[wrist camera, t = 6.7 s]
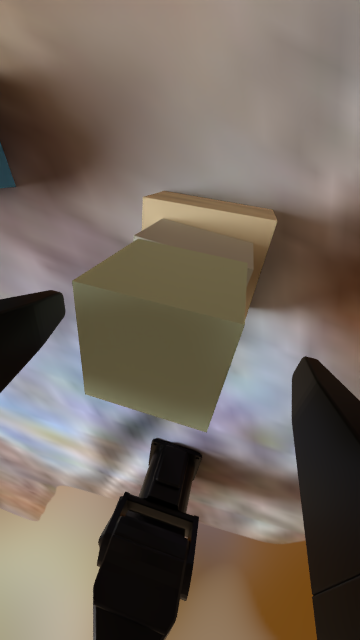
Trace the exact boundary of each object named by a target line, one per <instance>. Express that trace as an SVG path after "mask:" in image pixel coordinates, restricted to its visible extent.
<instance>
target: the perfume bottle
mask: <svg viewBox="0 0 360 640" xmlns="http://www.w3.org/2000/svg"><path fill="white" fill-rule="evenodd" d="M9 187H16V185H15V182H14V180H13V177H12V174H11V171H10V168H9V165H8V162H7V160H6V157H5V154H4V151H3V148H2V145H1V142H0V188H9Z"/></svg>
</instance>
